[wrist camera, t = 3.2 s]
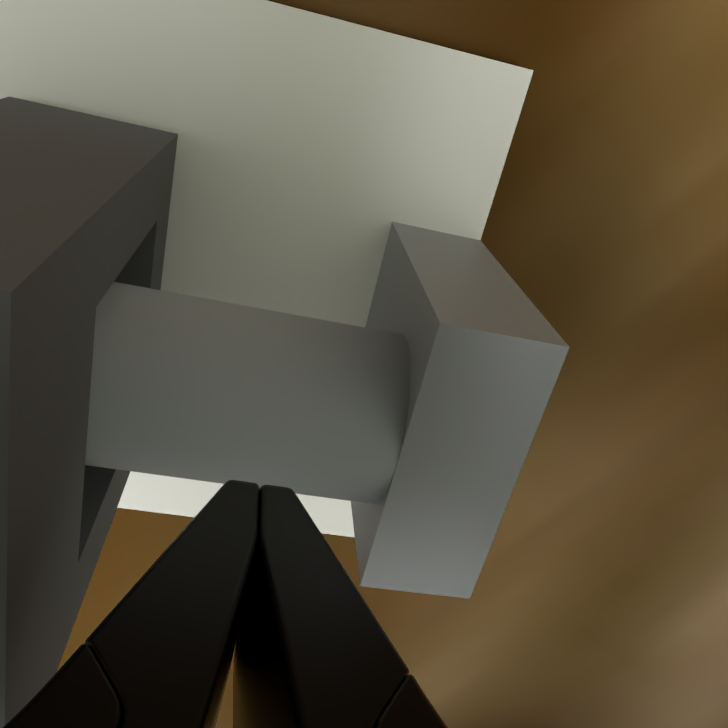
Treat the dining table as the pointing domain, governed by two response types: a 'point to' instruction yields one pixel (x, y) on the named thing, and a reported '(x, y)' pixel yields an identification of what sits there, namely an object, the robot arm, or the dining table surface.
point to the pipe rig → (309, 273)
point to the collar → (62, 357)
